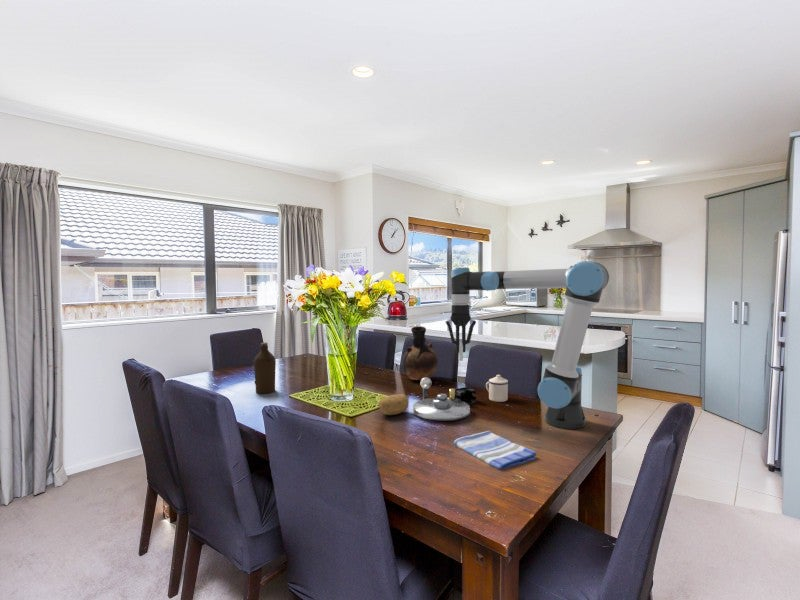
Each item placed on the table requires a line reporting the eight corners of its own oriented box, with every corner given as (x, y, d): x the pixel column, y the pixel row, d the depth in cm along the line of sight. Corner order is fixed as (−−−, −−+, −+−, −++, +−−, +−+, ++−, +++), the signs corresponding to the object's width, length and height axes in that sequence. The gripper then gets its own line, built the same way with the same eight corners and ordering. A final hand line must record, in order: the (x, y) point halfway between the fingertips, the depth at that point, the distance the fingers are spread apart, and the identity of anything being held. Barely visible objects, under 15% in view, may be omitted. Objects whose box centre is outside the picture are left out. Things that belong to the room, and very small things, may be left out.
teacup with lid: (512, 399, 199) (512, 375, 198) (499, 403, 193) (499, 378, 193) (492, 394, 208) (492, 370, 208) (479, 397, 203) (480, 373, 202)
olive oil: (280, 389, 218) (279, 341, 217) (267, 395, 208) (266, 345, 207) (263, 387, 222) (262, 340, 220) (250, 393, 212) (248, 344, 210)
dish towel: (489, 435, 156) (489, 428, 156) (539, 459, 136) (539, 451, 136) (451, 445, 148) (451, 437, 148) (498, 472, 127) (499, 463, 127)
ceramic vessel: (429, 374, 250) (429, 324, 248) (444, 381, 234) (444, 327, 232) (396, 378, 241) (396, 326, 239) (409, 385, 225) (409, 329, 223)
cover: (454, 405, 180) (454, 394, 180) (445, 410, 174) (445, 398, 173) (438, 402, 185) (438, 391, 184) (429, 407, 178) (429, 395, 178)
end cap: (467, 399, 201) (467, 385, 200) (477, 403, 195) (477, 388, 194) (450, 402, 196) (450, 387, 196) (459, 406, 190) (459, 391, 190)
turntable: (453, 424, 163) (453, 407, 162) (402, 413, 176) (402, 396, 176) (479, 408, 183) (479, 392, 182) (431, 399, 196) (431, 384, 196)
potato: (373, 414, 180) (373, 395, 179) (400, 408, 187) (400, 390, 187) (385, 420, 171) (385, 401, 171) (413, 414, 179) (413, 395, 179)
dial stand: (431, 404, 192) (431, 377, 191) (421, 405, 191) (420, 378, 190) (429, 402, 196) (429, 375, 195) (418, 402, 195) (418, 376, 194)
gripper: (474, 303, 180) (474, 358, 181) (444, 303, 180) (444, 358, 182) (477, 304, 173) (477, 361, 174) (445, 305, 173) (446, 361, 174)
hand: (460, 359), depth 178 cm, fingers closed
